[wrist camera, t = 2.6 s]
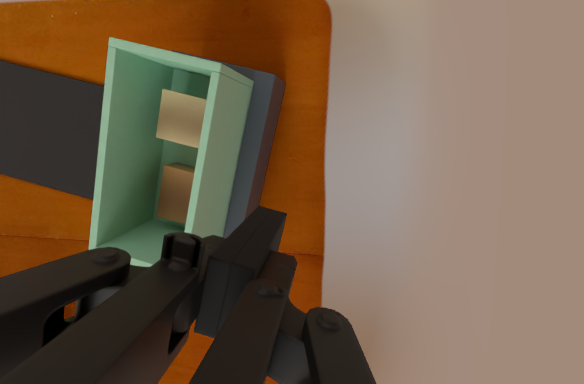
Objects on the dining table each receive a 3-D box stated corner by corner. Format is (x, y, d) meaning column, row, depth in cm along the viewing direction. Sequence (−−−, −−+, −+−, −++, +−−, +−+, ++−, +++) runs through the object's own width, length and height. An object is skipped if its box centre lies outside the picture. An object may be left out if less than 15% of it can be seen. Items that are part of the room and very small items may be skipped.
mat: (-64, 44, 39) (-67, 43, 39) (171, 103, 37) (169, 102, 36) (-62, 155, 42) (-65, 155, 42) (154, 216, 40) (153, 217, 39)
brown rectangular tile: (176, 161, 31) (163, 164, 29) (211, 171, 31) (201, 174, 28) (169, 210, 32) (156, 216, 30) (202, 219, 32) (192, 226, 29)
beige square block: (185, 93, 29) (162, 88, 26) (226, 103, 29) (209, 99, 25) (178, 136, 30) (155, 137, 26) (218, 146, 30) (200, 149, 26)
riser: (199, 62, 35) (171, 50, 29) (285, 83, 34) (275, 74, 29) (174, 214, 39) (146, 229, 33) (252, 235, 38) (236, 255, 33)
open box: (172, 61, 30) (108, 36, 21) (254, 81, 29) (221, 63, 21) (149, 221, 33) (88, 252, 25) (222, 241, 33) (183, 280, 24)
